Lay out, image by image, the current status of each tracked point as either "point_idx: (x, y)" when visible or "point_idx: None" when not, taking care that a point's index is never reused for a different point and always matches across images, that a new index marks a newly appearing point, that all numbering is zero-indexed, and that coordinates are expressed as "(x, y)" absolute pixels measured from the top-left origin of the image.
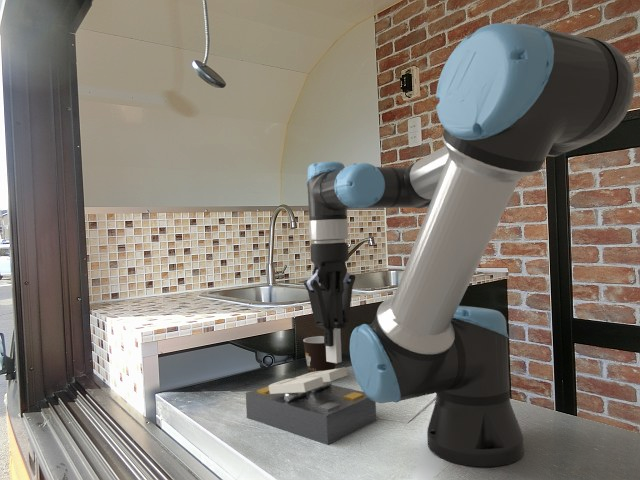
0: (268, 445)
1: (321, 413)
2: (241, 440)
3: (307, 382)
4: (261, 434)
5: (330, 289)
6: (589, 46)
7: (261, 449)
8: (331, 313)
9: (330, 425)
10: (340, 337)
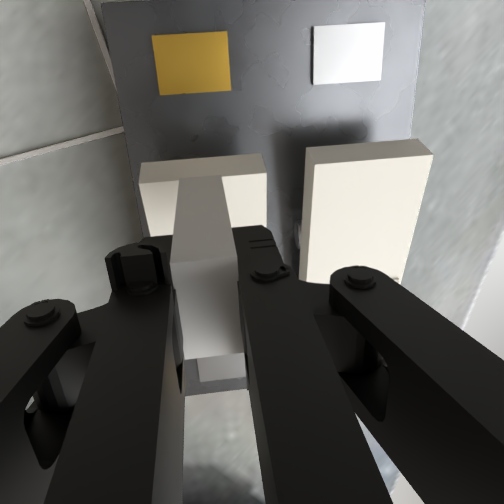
0: (467, 138)
1: (416, 24)
2: (474, 217)
3: (409, 155)
4: (421, 212)
5: None
6: None
7: (495, 132)
8: (305, 354)
9: None
10: (174, 233)
